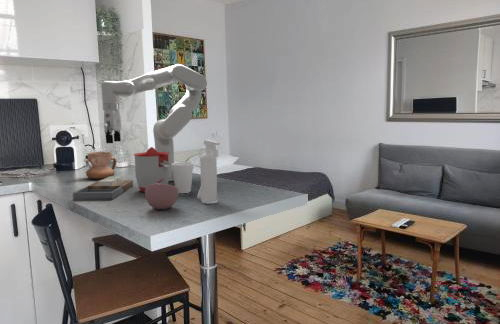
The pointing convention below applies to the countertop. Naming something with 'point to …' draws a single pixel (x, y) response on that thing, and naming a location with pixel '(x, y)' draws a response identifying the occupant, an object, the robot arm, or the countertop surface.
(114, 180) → the cream tile
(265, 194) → the countertop surface
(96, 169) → the ceramic jug
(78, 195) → the box
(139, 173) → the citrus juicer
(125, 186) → the walnut plate
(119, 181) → the sage tile
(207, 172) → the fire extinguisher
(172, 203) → the apple
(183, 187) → the foam cup
